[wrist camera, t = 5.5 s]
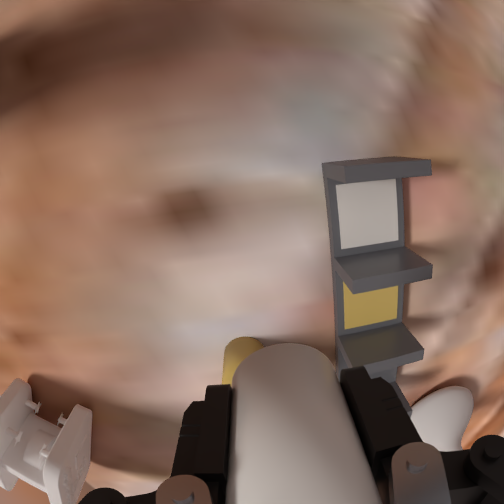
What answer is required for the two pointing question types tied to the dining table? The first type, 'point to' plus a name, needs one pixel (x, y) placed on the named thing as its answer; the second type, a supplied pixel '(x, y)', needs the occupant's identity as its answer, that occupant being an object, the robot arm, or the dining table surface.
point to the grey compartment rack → (372, 264)
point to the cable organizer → (43, 446)
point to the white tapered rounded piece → (443, 417)
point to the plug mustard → (237, 355)
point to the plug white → (294, 433)
